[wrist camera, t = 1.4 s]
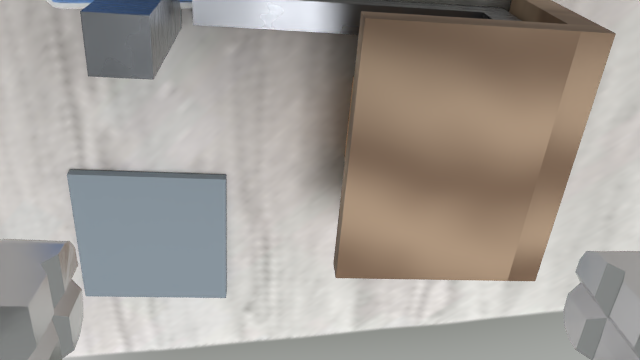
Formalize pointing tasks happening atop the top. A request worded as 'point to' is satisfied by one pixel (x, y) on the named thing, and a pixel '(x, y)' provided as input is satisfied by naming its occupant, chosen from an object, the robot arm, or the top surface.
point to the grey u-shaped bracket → (225, 25)
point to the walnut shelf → (463, 141)
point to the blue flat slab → (82, 0)
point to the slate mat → (150, 233)
